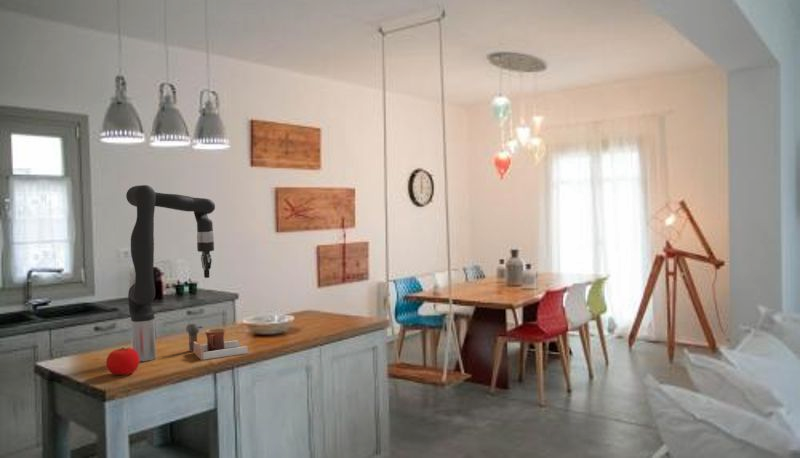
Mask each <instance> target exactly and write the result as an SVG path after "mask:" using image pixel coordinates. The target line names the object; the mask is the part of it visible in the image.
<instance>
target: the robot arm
mask: <svg viewBox="0 0 800 458" xmlns="http://www.w3.org/2000/svg"><path fill="white" fill-rule="evenodd" d="M125 196H126V197H125V198H126V200H127V202H128V204H130V205H131V206H133V207H136V221H135V224H134V226H133V229H132V232H131V234H130V256H131V260H132V264H133V268H134V271H135V273H134V274H135V276H134V279H135V280H134V283H133V284H132V285H131V286H130V288H129V290H128V296H127V297H128V310H129V311H128V312H129V315H130V320H131V321H130V322H131V323H130V324H131V339H130V340H131V349H134V350H136V351H137V353H138V355H139V359H140V362H149V361H152V360H154V359H156V358H157V351H156V326H155V325H156V323H155V313H154V311H153V307H152V302H153V301H154V299H155V297H156V286H155V278H154V263H155V262H154V256H155V255H154V254H155V237H154V233H155V231H154V230H155V228H154V227H155V223H154V221H155V219H154V218H155V209H156V208H155V207H157V208H158V207H159V208H165V209H170V210H171V209H172V210H176V211H182V212H193V214H194V219H195V221H196V222H195V223H196V231H197V233H196V246H197V247H196V248H197V252H199V253H201V255H200V262H201V267H202V269H203V277H204V278H205V279H208V278H210V270H211V269H212V268H211V267H212V262H213V261H212V260H213V259H212V255H211V253H210V252H214V251H215V242H214V241H215V240H214V239H215V238H214V237H215V235H214V232H213V231H214V228H213V226H214V224H213V221H212V220H211V219H210V218H209V217H208V215H209V214H212V213H213V212H214V211H215V209H216V205H215V202H214V201H213V200H212V199H209V198H204V197H203V198H202V197H193V196H189V195H182V194H177V193H176V194H174V193H161V192H155V189H154V188H153V187H152V186H150V185H147V184H143V185H142V184H141V185H134V186H131V187H130V188H129V189H128V190H127V191H126V195H125ZM148 360H149V361H148Z"/></svg>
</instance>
